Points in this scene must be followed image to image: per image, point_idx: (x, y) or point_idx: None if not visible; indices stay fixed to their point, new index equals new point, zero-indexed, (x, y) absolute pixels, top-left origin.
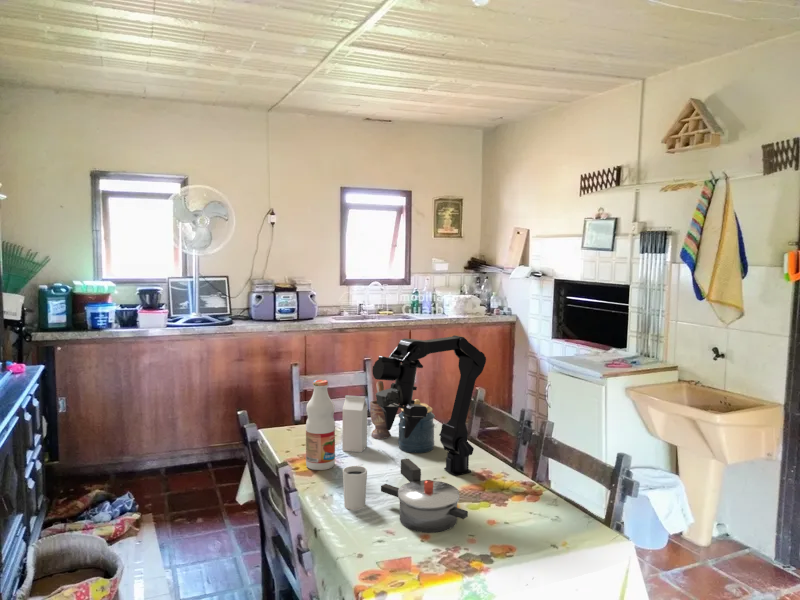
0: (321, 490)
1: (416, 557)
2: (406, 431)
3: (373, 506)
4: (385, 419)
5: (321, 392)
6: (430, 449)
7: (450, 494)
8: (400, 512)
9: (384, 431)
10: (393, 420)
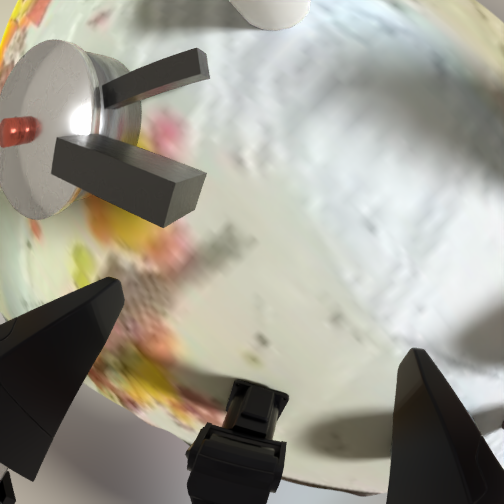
0: (444, 15)
1: (32, 34)
2: (55, 303)
3: (227, 40)
4: (471, 425)
5: None
6: (391, 444)
7: (6, 171)
8: (94, 53)
9: None
10: (394, 462)
